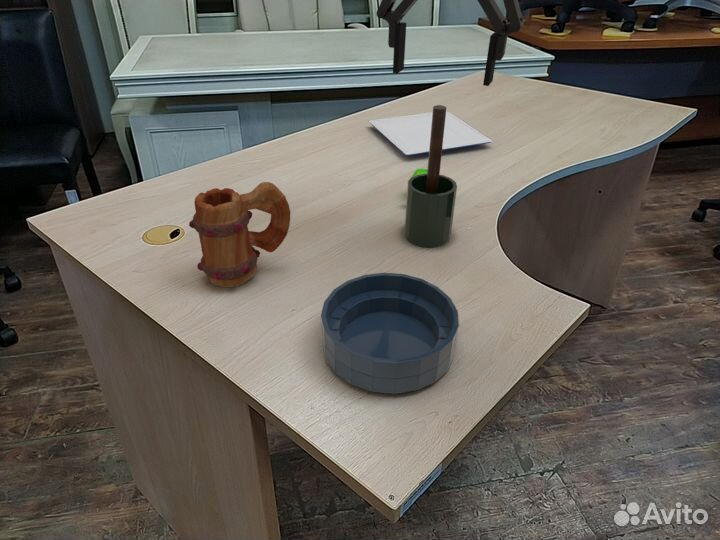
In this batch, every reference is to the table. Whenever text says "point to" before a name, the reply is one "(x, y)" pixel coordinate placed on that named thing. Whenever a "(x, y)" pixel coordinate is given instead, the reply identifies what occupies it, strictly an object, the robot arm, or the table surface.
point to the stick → (435, 148)
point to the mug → (237, 231)
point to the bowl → (389, 332)
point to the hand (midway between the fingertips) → (441, 77)
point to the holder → (429, 212)
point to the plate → (427, 133)
